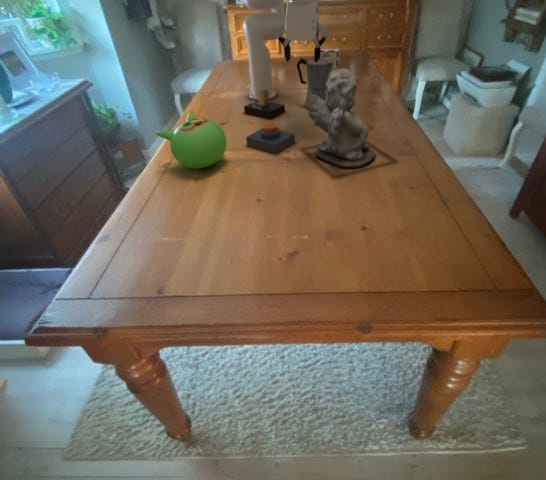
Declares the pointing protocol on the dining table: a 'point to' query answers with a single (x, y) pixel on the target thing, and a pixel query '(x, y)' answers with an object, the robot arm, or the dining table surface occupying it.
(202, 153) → the toy bird
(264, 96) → the tan wooden block
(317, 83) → the moka pot
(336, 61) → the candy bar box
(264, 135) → the dark piece
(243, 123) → the dining table surface
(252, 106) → the panel
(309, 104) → the angel statue
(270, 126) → the release button
